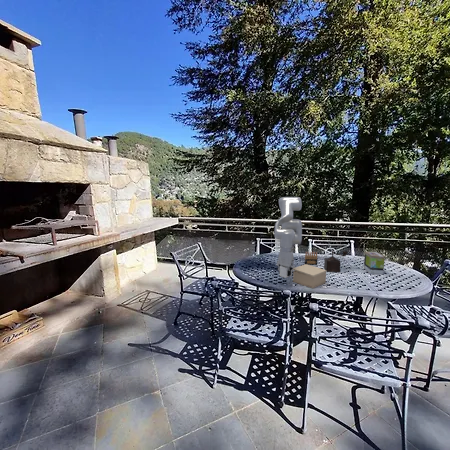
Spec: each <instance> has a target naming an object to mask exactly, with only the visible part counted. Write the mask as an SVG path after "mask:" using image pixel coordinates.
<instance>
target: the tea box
mask: <svg viewBox="0 0 450 450" xmlns="http://www.w3.org/2000/svg"><path fill="white" fill-rule="evenodd" d="M385 259H386V256H385V255H383V254H381V253H380V252H377V251H364V259H363V269H364V270H365V271H366V272H367V273H368V274H371V275H382V276H383V275H384V270H385V269H384V268H385V261H386V260H385Z"/></svg>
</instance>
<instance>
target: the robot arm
mask: <svg viewBox="0 0 450 450" xmlns="http://www.w3.org/2000/svg"><path fill="white" fill-rule="evenodd" d="M302 203H303V202H302V199H301V197H299V196H283V197H282V196H281V197H280V198H279V199H278V205H279V210H280V212H281V216H280V218H278V219H277V220H276V222H275V224H274V232H273V233H274V235H273V236H274V238H275V240H279V252H278V257H277V259H278V260H277V261H276V264H275V265H276V266H277V271H278V272H280V266H282V265H283V266H286V267H288V273H287V276H289V277H291V276H290V275H291V270H292V272H293V271H294V270H293V268H296V267H297V266H296V265H295V263H294V262H295V261H294V260H295V259H294V258H295V257H294V252H293V245H301V244H302V239H303V223H302V220H301V219H300V218H299V219H297V218H294V211H301V210H302V207H303V206H302V205H303V204H302ZM280 226H281V228H279V227H280Z"/></svg>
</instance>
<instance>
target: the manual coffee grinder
mask: <svg viewBox="0 0 450 450" xmlns="http://www.w3.org/2000/svg"><path fill="white" fill-rule="evenodd" d="M348 253H349V251H347V250H342V254H341V253H335V252H334V250H331V256H329V257H324V262H323V269H324V270H327V271H326V273H340V272H341V260H340V259H339V258H337V257H334V255H336V256H341V257H347V255H348Z"/></svg>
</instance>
